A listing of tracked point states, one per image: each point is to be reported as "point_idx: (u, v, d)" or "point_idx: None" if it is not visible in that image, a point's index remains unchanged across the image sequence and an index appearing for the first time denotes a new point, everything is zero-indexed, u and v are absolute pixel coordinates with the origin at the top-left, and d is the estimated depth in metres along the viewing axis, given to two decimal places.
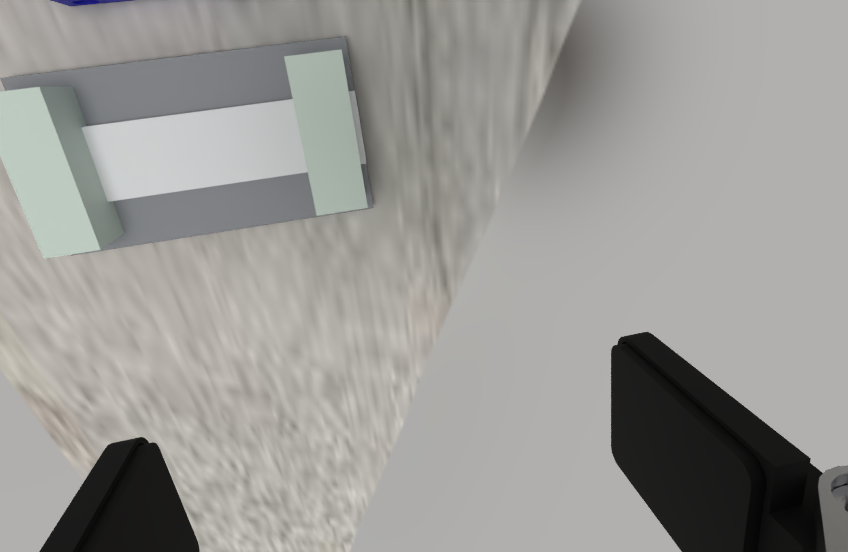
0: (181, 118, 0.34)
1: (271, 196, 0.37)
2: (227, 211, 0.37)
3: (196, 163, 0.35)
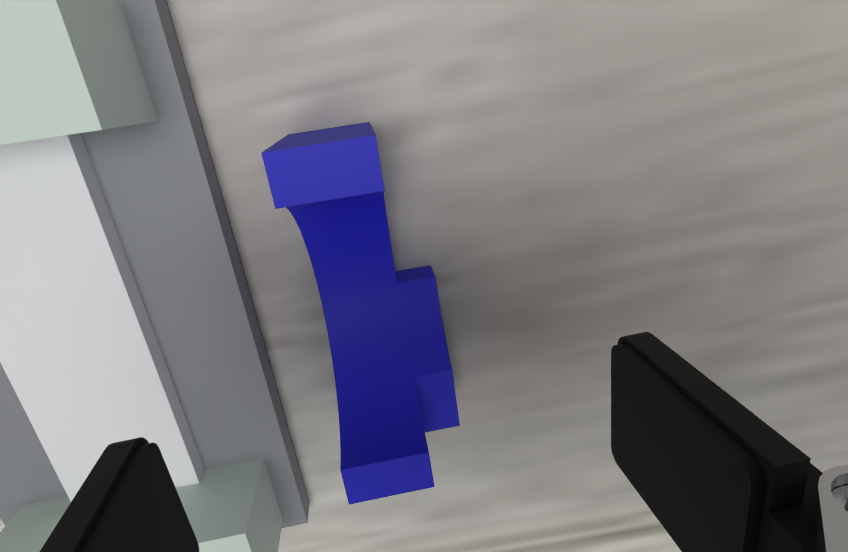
0: (127, 316, 0.18)
1: (13, 437, 0.20)
2: None
3: (41, 335, 0.18)
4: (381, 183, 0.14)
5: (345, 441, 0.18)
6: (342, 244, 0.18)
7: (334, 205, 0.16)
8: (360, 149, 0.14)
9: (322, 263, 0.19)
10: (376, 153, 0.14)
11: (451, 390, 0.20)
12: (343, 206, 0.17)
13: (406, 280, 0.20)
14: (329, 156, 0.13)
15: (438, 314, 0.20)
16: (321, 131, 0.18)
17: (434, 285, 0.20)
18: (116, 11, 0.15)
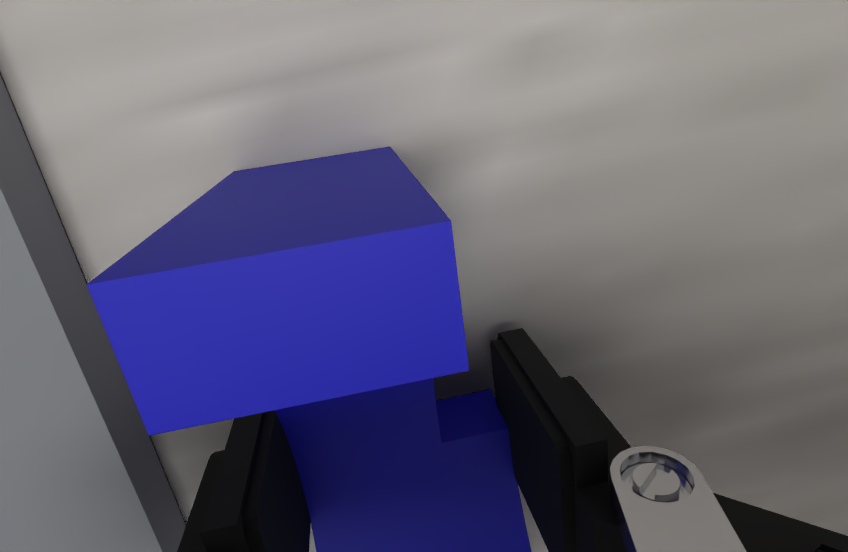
0: None
1: None
2: None
3: None
4: (460, 351, 0.05)
5: None
6: None
7: None
8: (403, 262, 0.04)
9: (301, 422, 0.10)
10: (450, 272, 0.05)
11: None
12: None
13: (458, 435, 0.11)
14: (308, 286, 0.04)
15: (514, 492, 0.11)
16: (296, 170, 0.09)
17: (508, 442, 0.11)
18: None
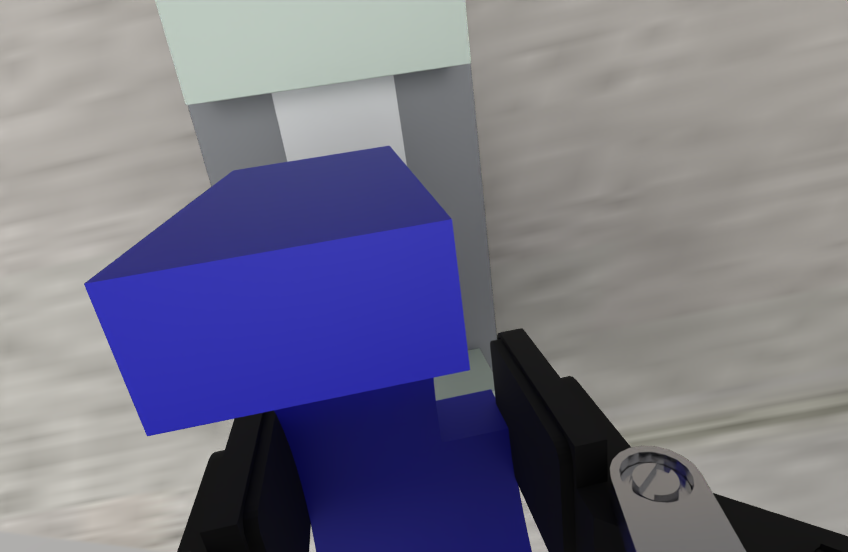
0: None
1: None
2: None
3: None
4: (461, 351, 0.05)
5: None
6: None
7: None
8: (404, 260, 0.04)
9: (300, 422, 0.10)
10: (451, 271, 0.04)
11: None
12: None
13: (458, 435, 0.11)
14: (308, 286, 0.04)
15: (514, 492, 0.11)
16: (295, 169, 0.09)
17: (508, 442, 0.11)
18: None
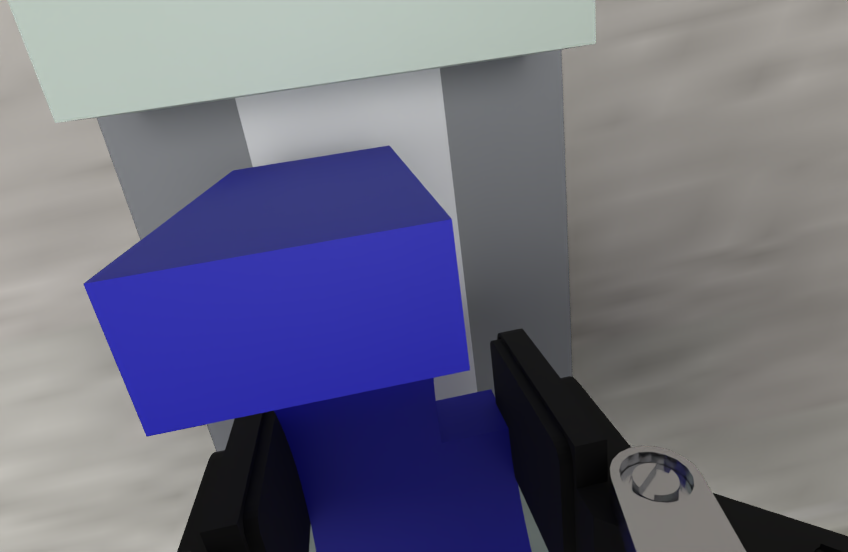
0: None
1: None
2: None
3: None
4: (461, 351, 0.05)
5: None
6: None
7: None
8: (404, 260, 0.04)
9: (300, 422, 0.10)
10: (451, 271, 0.04)
11: None
12: None
13: (457, 435, 0.11)
14: (308, 285, 0.04)
15: (514, 492, 0.11)
16: (295, 169, 0.09)
17: (508, 442, 0.11)
18: None
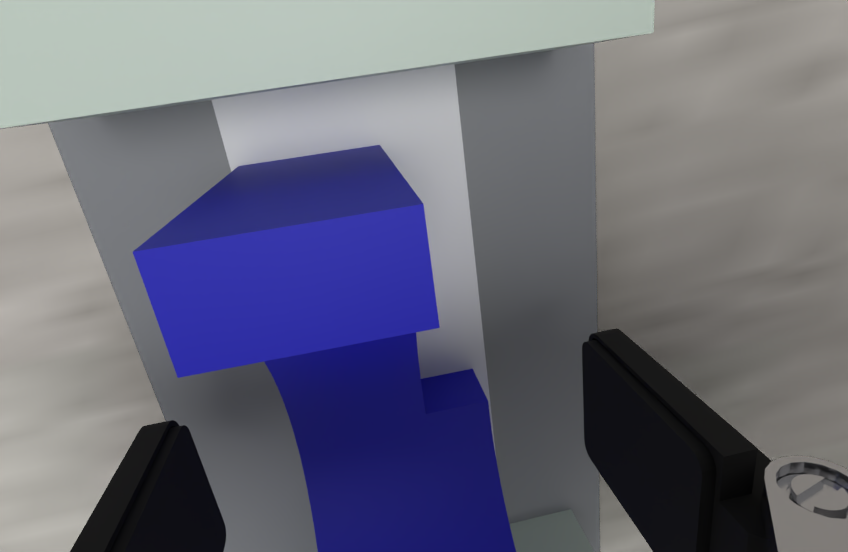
0: (471, 330, 0.13)
1: (273, 495, 0.15)
2: (220, 404, 0.13)
3: None
4: (432, 311, 0.06)
5: None
6: (334, 363, 0.10)
7: None
8: (386, 238, 0.05)
9: (298, 392, 0.11)
10: (424, 246, 0.06)
11: None
12: None
13: (440, 407, 0.12)
14: (309, 255, 0.05)
15: (492, 460, 0.12)
16: (295, 165, 0.10)
17: (486, 414, 0.12)
18: None
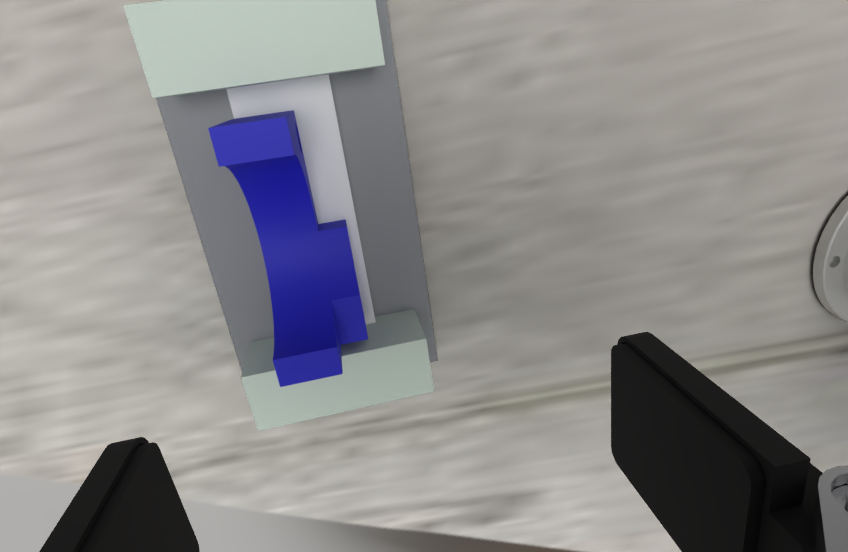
0: (346, 198, 0.28)
1: (254, 289, 0.29)
2: (227, 236, 0.28)
3: None
4: (291, 149, 0.21)
5: (277, 343, 0.25)
6: (274, 200, 0.25)
7: (264, 168, 0.23)
8: (276, 126, 0.20)
9: (259, 215, 0.25)
10: (287, 129, 0.20)
11: (360, 311, 0.27)
12: (271, 170, 0.23)
13: (325, 229, 0.27)
14: (254, 131, 0.20)
15: (350, 255, 0.27)
16: (256, 116, 0.24)
17: (346, 233, 0.27)
18: None
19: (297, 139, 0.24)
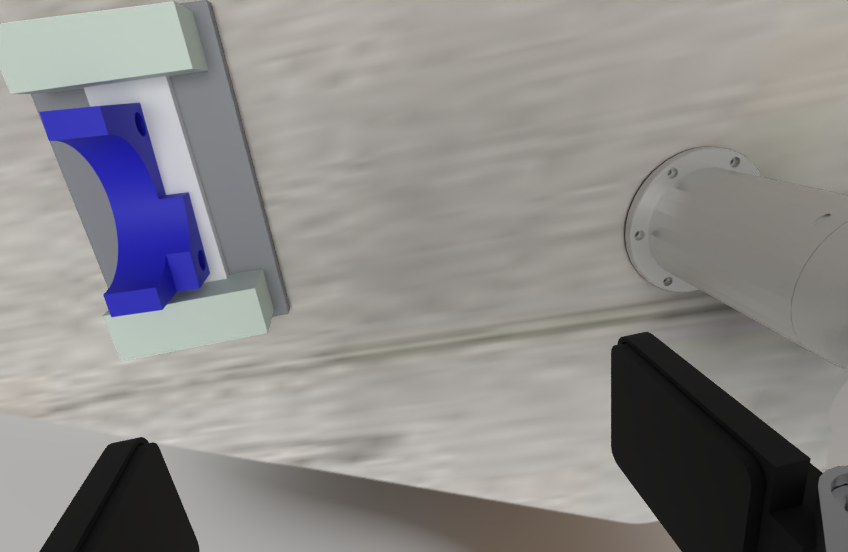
0: (191, 175, 0.34)
1: None
2: (98, 205, 0.35)
3: None
4: (106, 130, 0.27)
5: (113, 284, 0.31)
6: (118, 172, 0.32)
7: (99, 145, 0.30)
8: (92, 112, 0.27)
9: (108, 184, 0.32)
10: (101, 115, 0.27)
11: (191, 265, 0.34)
12: (106, 147, 0.30)
13: (165, 198, 0.33)
14: (75, 115, 0.27)
15: (186, 220, 0.34)
16: None
17: (182, 202, 0.34)
18: (191, 15, 0.32)
19: (133, 125, 0.31)
